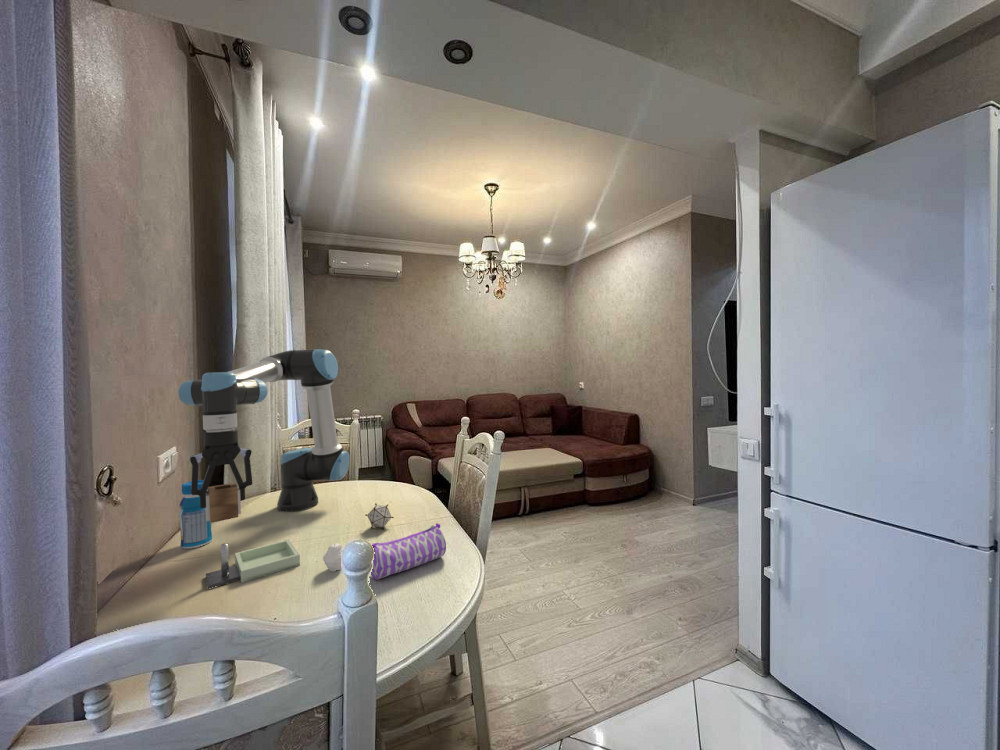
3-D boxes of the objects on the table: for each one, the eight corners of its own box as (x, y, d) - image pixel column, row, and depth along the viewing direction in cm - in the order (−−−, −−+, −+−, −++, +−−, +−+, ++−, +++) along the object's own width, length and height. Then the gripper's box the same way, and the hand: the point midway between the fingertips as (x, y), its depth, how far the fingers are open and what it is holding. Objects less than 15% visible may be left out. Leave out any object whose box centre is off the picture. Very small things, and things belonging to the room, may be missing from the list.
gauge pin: (241, 567, 112) (240, 535, 112) (244, 578, 106) (243, 544, 106) (205, 577, 107) (204, 544, 107) (207, 589, 101) (206, 554, 101)
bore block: (235, 511, 111) (234, 482, 111) (238, 517, 106) (237, 487, 106) (209, 516, 107) (208, 487, 107) (210, 523, 102) (209, 492, 102)
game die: (378, 540, 137) (366, 524, 131) (369, 525, 143) (357, 509, 137) (401, 523, 141) (390, 506, 135) (390, 509, 146) (380, 492, 141)
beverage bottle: (191, 551, 123) (189, 487, 123) (173, 547, 126) (171, 485, 126) (218, 540, 131) (217, 480, 131) (201, 537, 134) (199, 478, 134)
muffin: (349, 562, 114) (348, 538, 113) (344, 573, 108) (344, 547, 107) (326, 564, 112) (325, 540, 112) (320, 575, 106) (319, 549, 106)
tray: (289, 548, 123) (288, 539, 123) (300, 565, 113) (299, 554, 113) (235, 563, 114) (234, 553, 114) (241, 582, 104) (241, 571, 104)
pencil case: (433, 548, 121) (432, 518, 121) (451, 558, 115) (450, 526, 114) (363, 575, 106) (362, 540, 106) (379, 588, 99) (378, 551, 99)
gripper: (174, 435, 97) (178, 529, 97) (264, 427, 109) (266, 510, 109) (174, 432, 103) (178, 521, 103) (259, 424, 115) (262, 504, 115)
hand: (223, 515), depth 106 cm, fingers closed on bore block, 6 cm apart
